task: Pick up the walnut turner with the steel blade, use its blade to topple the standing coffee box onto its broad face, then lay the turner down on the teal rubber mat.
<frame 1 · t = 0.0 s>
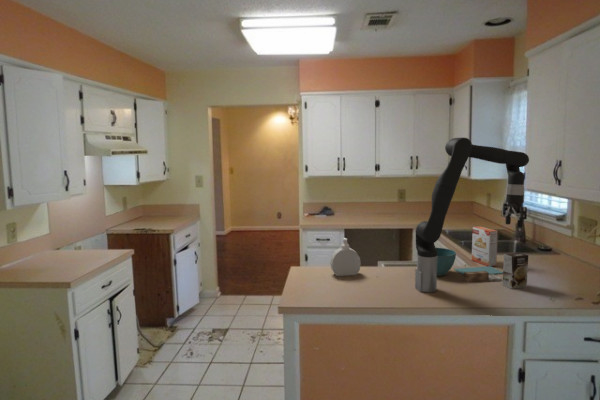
hand: (513, 225, 195), 29 cm above the worktop, tool pointing down, fingers open, 8 cm apart
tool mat: (478, 271, 218), on the worktop
soap bottle: (345, 274, 218), on the worktop
cracker box: (483, 263, 233), on the worktop
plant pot: (437, 273, 217), on the worktop
coffee box: (514, 286, 195), on the worktop
turner: (481, 279, 205), on the worktop
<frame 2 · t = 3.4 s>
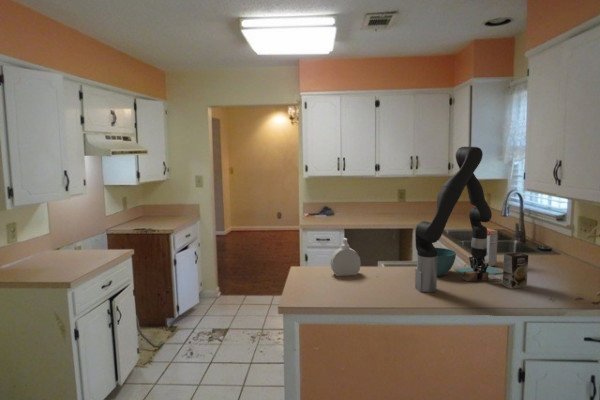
hand: (477, 278, 205), 1 cm above the worktop, tool pointing down, fingers closed on turner, 3 cm apart
turner: (481, 279, 205), on the worktop, touching gripper
everything else where it was.
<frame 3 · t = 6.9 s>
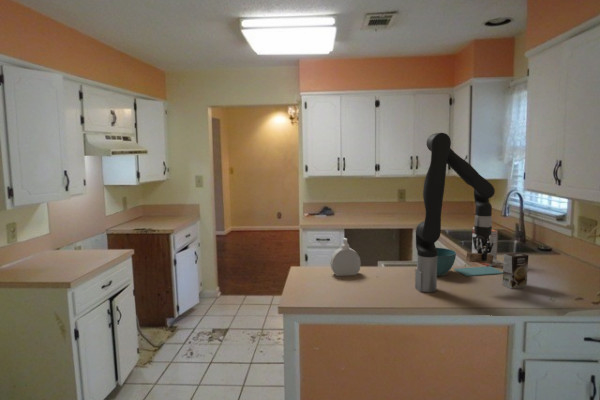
hand: (482, 259, 190), 14 cm above the worktop, tool pointing down, fingers closed on turner, 3 cm apart
turner: (484, 262, 191), point 13 cm above the worktop, tilted 8°, touching gripper
everything else where it was.
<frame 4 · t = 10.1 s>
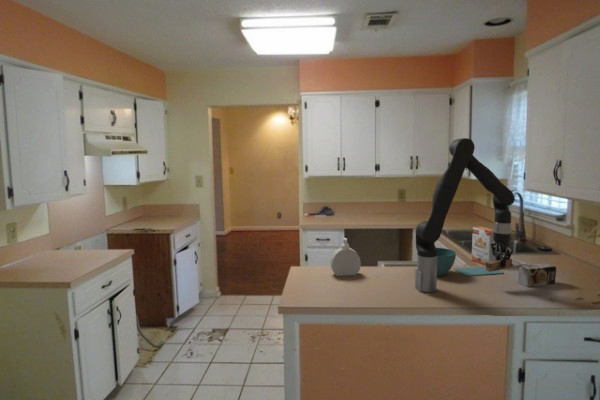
hand: (500, 266, 192), 11 cm above the worktop, tool pointing down, fingers closed on turner, 3 cm apart
coffee box: (522, 276, 195), point 4 cm above the worktop
turner: (504, 267, 193), point 10 cm above the worktop, tilted 8°, touching gripper
everything else where it was.
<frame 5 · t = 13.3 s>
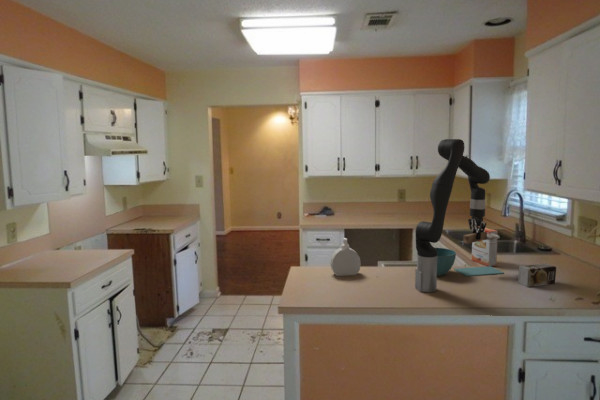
hand: (476, 238, 215), 19 cm above the worktop, tool pointing down, fingers closed on turner, 3 cm apart
turner: (480, 239, 216), point 18 cm above the worktop, tilted 8°, touching gripper
everything else where it was.
when the fingers open (3 cm above the worktop, at t = 16.3 s): turner drops 1 cm, resting on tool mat.
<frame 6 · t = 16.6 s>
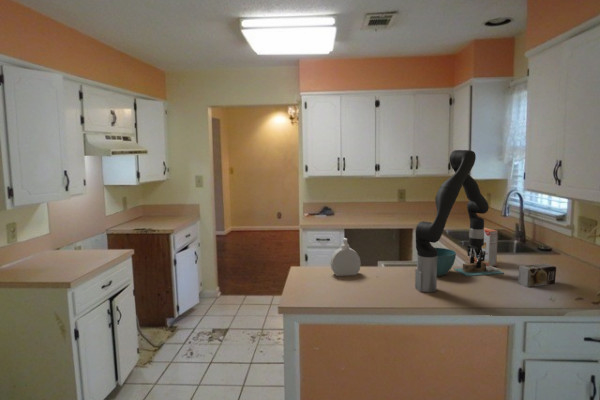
hand: (475, 266, 217), 3 cm above the worktop, tool pointing down, fingers open, 5 cm apart
turner: (479, 270, 218), point 1 cm above the worktop, touching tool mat
everything else where it was.
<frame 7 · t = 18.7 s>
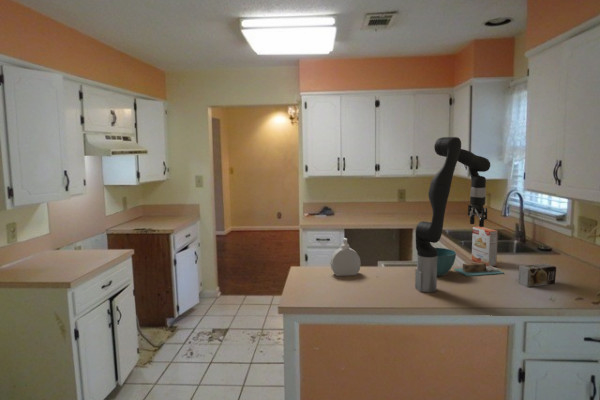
hand: (476, 225, 214), 26 cm above the worktop, tool pointing down, fingers open, 8 cm apart
nothing on the worktop moved.
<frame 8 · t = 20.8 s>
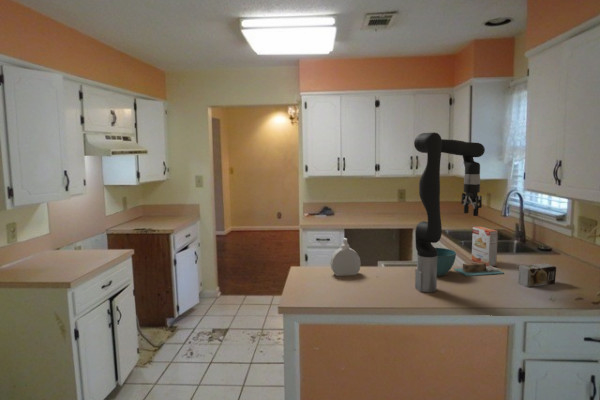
hand: (470, 214, 202), 34 cm above the worktop, tool pointing down, fingers open, 8 cm apart
nothing on the worktop moved.
at the end: coffee box tilted 89°; turner inside the target area on the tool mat (0.5 cm from its centre), point 0.6 cm above the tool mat's base; the gripper is holding nothing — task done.
